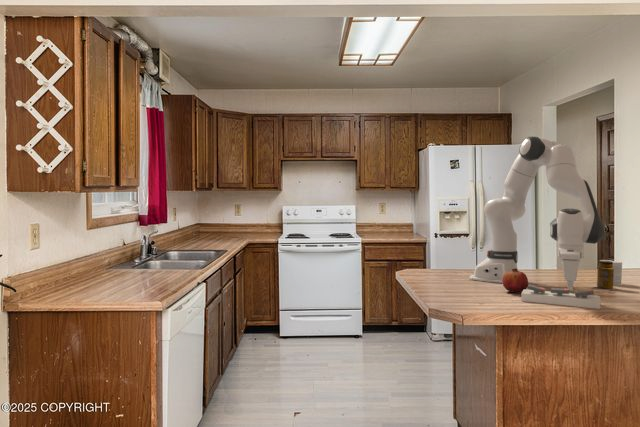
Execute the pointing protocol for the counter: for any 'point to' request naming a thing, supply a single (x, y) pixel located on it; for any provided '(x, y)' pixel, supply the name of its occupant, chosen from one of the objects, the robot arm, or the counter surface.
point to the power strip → (561, 299)
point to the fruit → (515, 281)
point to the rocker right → (584, 292)
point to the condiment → (605, 276)
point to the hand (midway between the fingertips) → (570, 289)
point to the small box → (616, 272)
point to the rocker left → (536, 288)
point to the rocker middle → (560, 290)
